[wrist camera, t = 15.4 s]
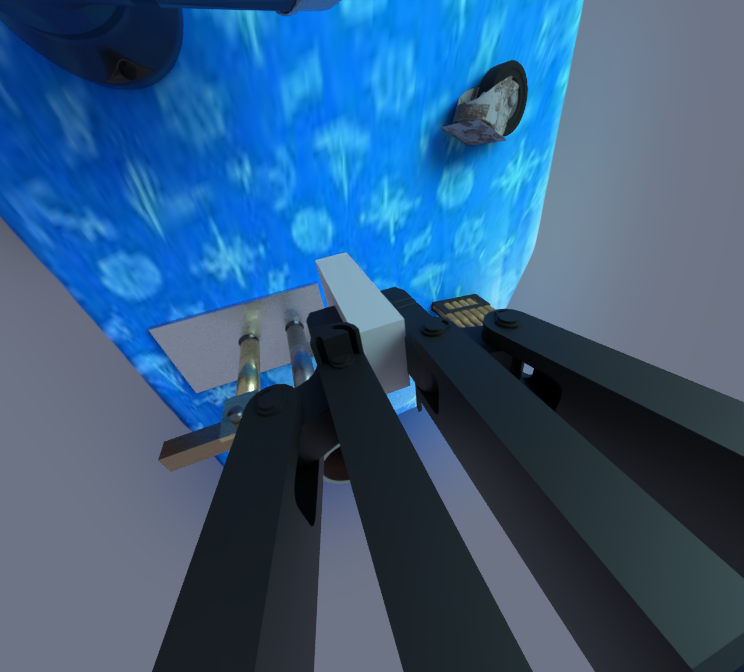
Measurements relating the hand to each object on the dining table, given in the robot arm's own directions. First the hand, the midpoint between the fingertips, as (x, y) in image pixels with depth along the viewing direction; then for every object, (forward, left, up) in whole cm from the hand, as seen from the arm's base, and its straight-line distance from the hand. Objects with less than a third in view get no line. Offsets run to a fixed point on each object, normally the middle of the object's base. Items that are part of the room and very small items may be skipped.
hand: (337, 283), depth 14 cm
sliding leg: (+3, -23, -31) cm, 39 cm away
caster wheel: (+20, +25, -33) cm, 46 cm away
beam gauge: (+3, -24, -32) cm, 40 cm away
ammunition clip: (+38, -2, -33) cm, 50 cm away
